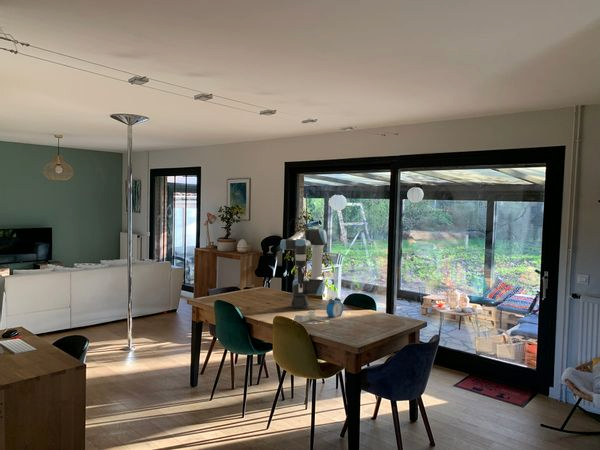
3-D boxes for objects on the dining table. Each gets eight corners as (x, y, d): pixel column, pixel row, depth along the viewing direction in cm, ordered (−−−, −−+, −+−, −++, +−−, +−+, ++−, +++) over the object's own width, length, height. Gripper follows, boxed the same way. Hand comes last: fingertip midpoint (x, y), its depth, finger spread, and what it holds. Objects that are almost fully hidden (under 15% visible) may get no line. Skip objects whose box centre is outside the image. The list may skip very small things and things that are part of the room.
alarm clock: (332, 320, 340) (332, 299, 339) (325, 318, 344) (325, 298, 344) (343, 317, 349) (343, 297, 349) (336, 315, 354) (337, 296, 353)
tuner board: (295, 317, 347) (295, 315, 347) (330, 318, 344) (330, 316, 344) (291, 325, 323) (291, 323, 323) (329, 327, 320) (329, 324, 320)
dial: (299, 321, 329) (299, 312, 328) (311, 318, 339) (311, 309, 338) (317, 325, 319) (317, 316, 318) (328, 321, 329) (328, 313, 328)
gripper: (293, 258, 341) (293, 290, 343) (298, 261, 328) (297, 294, 330) (303, 258, 343) (303, 290, 345) (308, 261, 330) (308, 293, 332)
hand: (300, 292), depth 337 cm, fingers closed
